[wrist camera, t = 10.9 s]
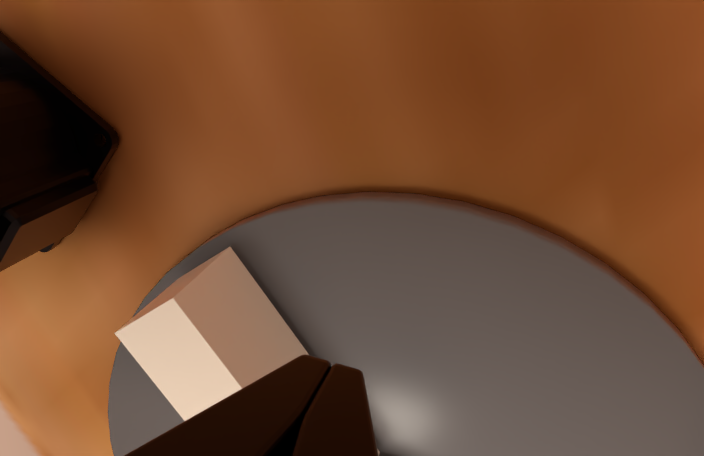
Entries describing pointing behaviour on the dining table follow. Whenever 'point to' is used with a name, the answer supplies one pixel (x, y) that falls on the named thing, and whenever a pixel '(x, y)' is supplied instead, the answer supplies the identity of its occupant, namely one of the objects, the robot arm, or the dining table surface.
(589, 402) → the round gray plate
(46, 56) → the dining table surface
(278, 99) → the dining table surface
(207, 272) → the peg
